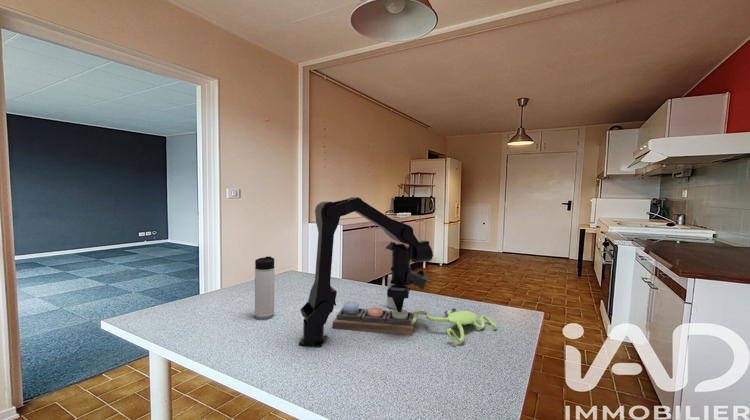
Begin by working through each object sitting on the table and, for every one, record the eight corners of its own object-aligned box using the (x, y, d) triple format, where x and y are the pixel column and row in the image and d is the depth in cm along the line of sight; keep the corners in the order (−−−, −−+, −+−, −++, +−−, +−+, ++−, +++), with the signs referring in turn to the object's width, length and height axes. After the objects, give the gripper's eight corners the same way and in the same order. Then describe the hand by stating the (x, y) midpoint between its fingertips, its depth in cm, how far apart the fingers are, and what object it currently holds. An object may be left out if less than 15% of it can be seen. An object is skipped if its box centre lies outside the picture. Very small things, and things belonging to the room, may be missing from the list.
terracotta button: (381, 321, 103) (381, 313, 103) (366, 319, 104) (366, 312, 103) (383, 315, 108) (384, 308, 108) (369, 314, 108) (369, 306, 108)
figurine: (402, 329, 103) (403, 312, 103) (456, 312, 119) (456, 297, 119) (449, 352, 88) (450, 332, 88) (503, 329, 105) (503, 311, 104)
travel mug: (277, 313, 114) (277, 256, 113) (269, 320, 107) (269, 260, 107) (260, 312, 115) (260, 256, 114) (251, 319, 108) (251, 259, 107)
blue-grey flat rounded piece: (356, 315, 104) (357, 307, 104) (341, 313, 105) (341, 306, 105) (360, 309, 109) (360, 302, 109) (345, 308, 110) (345, 301, 110)
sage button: (407, 323, 101) (407, 315, 101) (391, 321, 102) (391, 313, 102) (408, 317, 106) (408, 309, 106) (392, 316, 107) (393, 308, 107)
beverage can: (399, 309, 120) (399, 277, 119) (386, 308, 121) (386, 276, 120) (400, 305, 125) (401, 274, 124) (388, 304, 126) (388, 273, 125)
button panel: (412, 335, 98) (413, 324, 98) (332, 328, 102) (332, 317, 102) (414, 320, 109) (414, 310, 109) (342, 314, 114) (342, 305, 114)
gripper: (426, 271, 93) (424, 325, 94) (426, 259, 111) (425, 304, 112) (387, 269, 95) (386, 321, 95) (394, 257, 113) (393, 302, 114)
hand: (399, 311), depth 104 cm, fingers closed, pressing on sage button
